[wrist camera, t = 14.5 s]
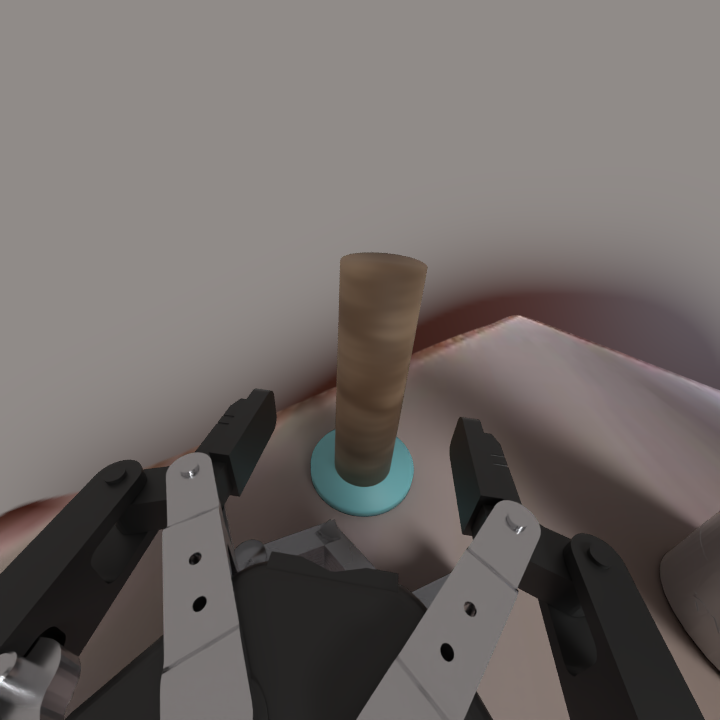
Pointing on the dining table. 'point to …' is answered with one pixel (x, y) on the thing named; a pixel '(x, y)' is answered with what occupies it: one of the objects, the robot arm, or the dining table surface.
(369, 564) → the zigzag rail
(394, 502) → the teal pad
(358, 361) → the walnut peg
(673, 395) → the dining table surface
